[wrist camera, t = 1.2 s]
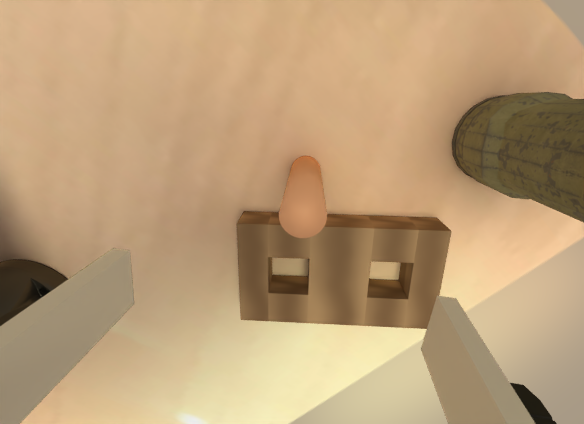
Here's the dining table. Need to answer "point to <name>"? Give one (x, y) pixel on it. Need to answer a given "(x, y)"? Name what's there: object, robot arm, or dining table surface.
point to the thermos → (526, 148)
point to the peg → (303, 200)
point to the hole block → (342, 270)
